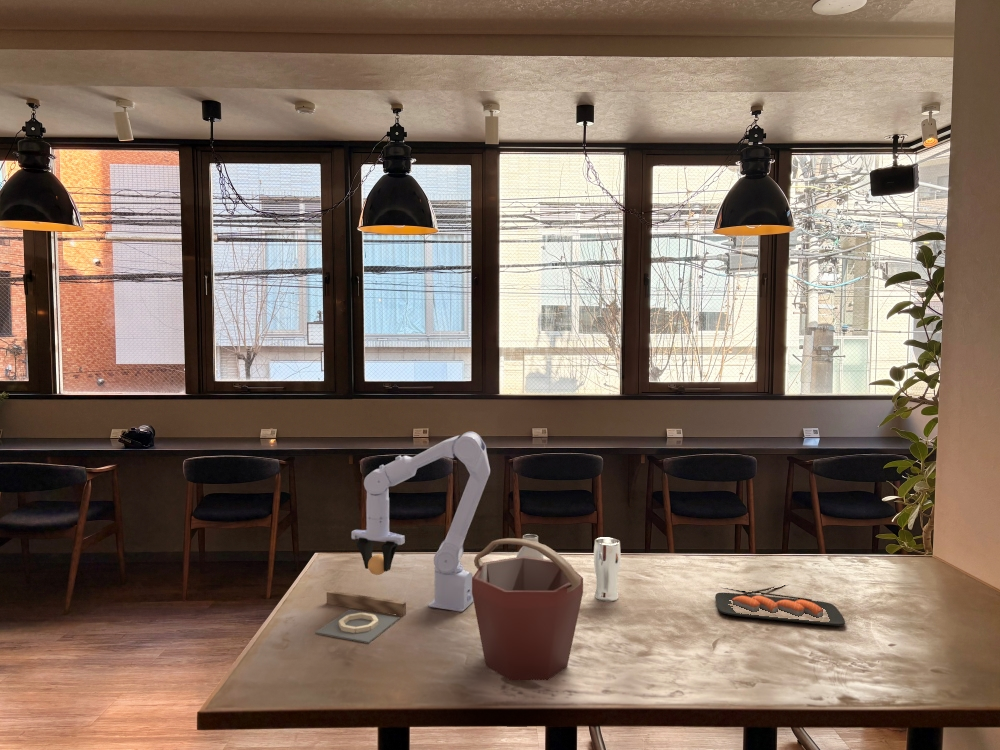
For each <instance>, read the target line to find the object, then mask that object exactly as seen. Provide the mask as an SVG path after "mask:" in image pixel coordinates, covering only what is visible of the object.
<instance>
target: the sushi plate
mask: <svg viewBox="0 0 1000 750" xmlns="http://www.w3.org/2000/svg"><path fill="white" fill-rule="evenodd" d="M774 587H775V586H771V587H767V588H763V589H759V590H758V589H757V590H751V591H752V592H742V593H736V592H735V593H734V592H717V593H716V594H715V596H714V597H715V598H714V599H715V604H716V607H717V610H718V611H719V612H720V613H722V614H725V615H729V616H737V617H743V618H753V619H764V620H772V621H774V620H775V621H785V622H794V623H806V624H814V625H815V624H816V625H825V626H835V627H837V626H838V627H839V626H845V624H846V621H845V617H844V616H843V614H842V613H841V611H840V610H839V608H837V607H836V605H834V604H832V603H830V602H827V601H821V600H813V599H812V598H811V599H810V598H804V597H798V596H790V595H783V594H782V595H781V594H776V593H770V592H769V593H767V591H770V590H769V589H771V588H774ZM766 590H767V591H766ZM756 593H761V594H757V595H756ZM764 594H766V595H764ZM729 600H732V601H733V605H736V606H739V607H741V608H744V609H746V610H749V611H751V612H757V611H759V608H760V609H762V610H765V611H768V612H770V613H776V612H778V609H779V610H781V611H784V612H787V613H790V614H792V615H795V616H798V617H799V616H802V615H803V614H804V613H805V614H809V615H811V616H813V617H816V618H819V617H822V616H823V609H825V610H826V612H827V614H828V617H829V619H830V621H829V622H820V621H809V620H799V619H788V618H778V617H769V616H759V615H751V614H750V615H749V614H742V613H741V614H740V613H736V612H735V611H734V610H733V608H731V607H733V606H730V605H728V604H732V603H731V601H729ZM822 608H823V609H822Z"/></svg>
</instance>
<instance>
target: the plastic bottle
mask: <svg viewBox="0 0 1000 750" xmlns="http://www.w3.org/2000/svg"><path fill="white" fill-rule="evenodd" d="M522 539H526V540H530V541H534V542H537V543H539V536H538V535H537V534H532V533H531V534H530V533H527V534H524V535H522ZM522 556H525V557H532V558H538V559H544V555H543V554H542V553H540V552H539V551H537V550H535V549H532V548H529V547H526V546H522V547H521V548H520V549H519V550H518V553H517V555H516V557H522Z"/></svg>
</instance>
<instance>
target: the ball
mask: <svg viewBox="0 0 1000 750" xmlns="http://www.w3.org/2000/svg"><path fill="white" fill-rule="evenodd" d="M367 570H368V571H369V573H371V574H373V575H374V576H379V575H382V574H383V573H386V571H384V558H383V554H375V555H372V557H371V558H370V560H369V562H368V569H367Z"/></svg>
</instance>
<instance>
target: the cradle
mask: <svg viewBox="0 0 1000 750" xmlns="http://www.w3.org/2000/svg"><path fill="white" fill-rule="evenodd" d="M397 620H398V621H399V620H401V619H400V616H393V615H387V614H382V613H381V614H379V613H376V612H370V611H369V612H367V611H361V610H355V609H351V608H350V609H348V610H346V611H345V612H344V613H342V614H340V615H339V616H338V617H336V618H334V619H333V620H331V621H330V622H328V623H327V624H326V625H324V626H322V627H321V628H319V629H318V630H316V631H315V634H316V635H319V636H326V637H329V638H330V637H332V638H337V639H342V640H348V641H352V640H353V641H352V642H358V643H363V642H364V643H365V644H370V643H372V642H373V641H374V640H376V637H377V636H378V635H379V634H380V635H382V634H383V633H384V632H386V631H387V630H388V629H390V628H391V627H392V626H393V625H394V624H395V622H396V621H397ZM398 621H397V622H398ZM397 622H396V623H397ZM392 624H393V625H392ZM391 625H392V626H391ZM390 626H391V627H390ZM387 628H388V629H387ZM386 629H387V630H386ZM385 630H386V631H385ZM383 631H384V632H383ZM382 632H383V633H382ZM381 633H382V634H381ZM380 635H379V636H380ZM379 636H378V637H379ZM378 637H377V638H378ZM372 640H373V641H372ZM371 641H372V642H371Z"/></svg>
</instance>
